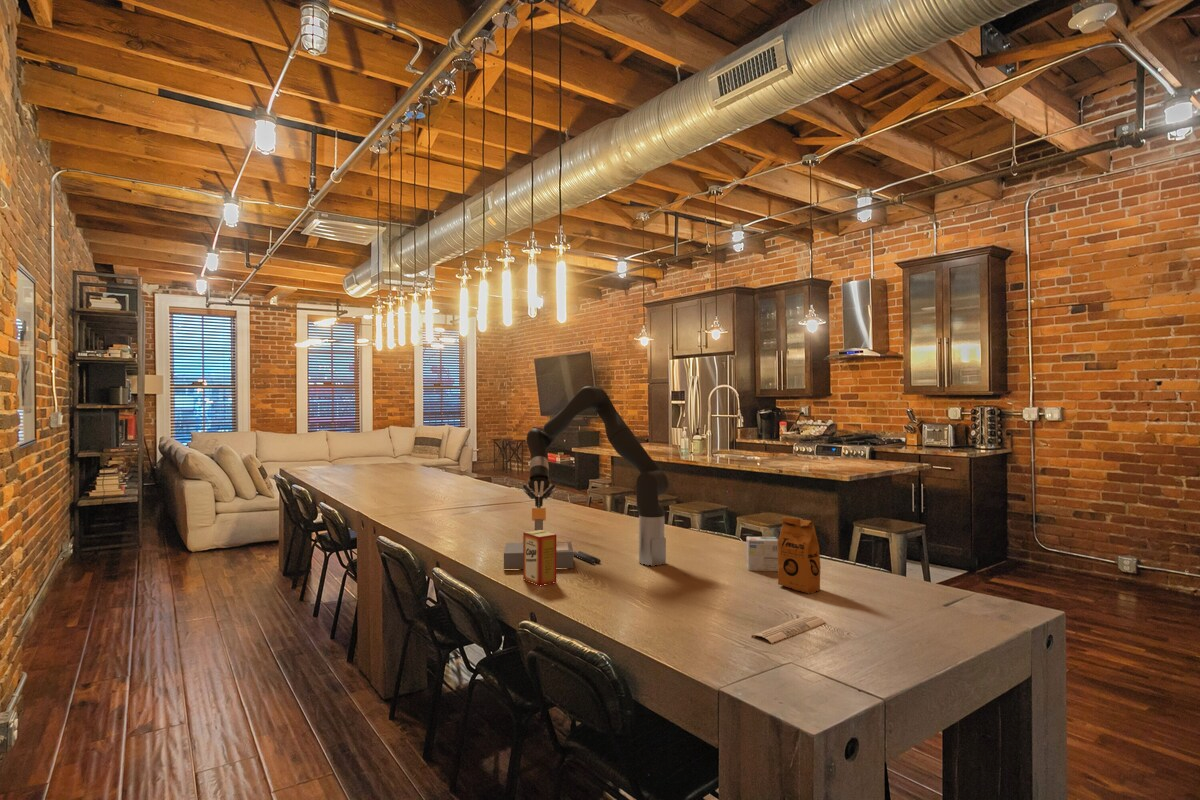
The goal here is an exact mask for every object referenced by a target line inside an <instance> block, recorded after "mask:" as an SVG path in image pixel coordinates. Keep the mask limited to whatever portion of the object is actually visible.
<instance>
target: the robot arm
mask: <svg viewBox="0 0 1200 800" xmlns="http://www.w3.org/2000/svg"><path fill="white" fill-rule="evenodd" d="M616 409H617V408H616V407H615V405H614V404H613V401H611V399H610V397H609V396H608V394H607V392H606V391H605V390H604V389H603V388H601V387H599V386H592V385H586V386H583V387H582V388H580V389H579V390H578V392H576V393H575V395H574V396H573V397H572V398H571V400H569V402H568V403H566V405H565V406H564V407H563V409H561V410H560V411H559V412H557V414H555V415H554V416H553V417H552V418H551V419H549V420H548V421H546V422H545V424H544V426H543V430H544V431H543V430H541V429H539V428H536V427H535V428H531V429H530V430H529V431H528V433H527V435H526V445H527V448H528V451H529V454H530V458H529V459H530V461H529V478H528V479H529V481H528V482H527V484H523V485H522V491H523V492H524V493H525V494H526V496H528V497H529V499H531V500H534V505H535V508H542V507H543V505H544V504H543V503H544V502H543V500H544V499H545V500H547V499H548V498H549V497H550V496H552V494H553V493H554V492H555V491H556V484H551V481H550V478H549V477H550V475H549V473H550V472H549V470H550V468H549V452H548V449H549V448H550V447H551V446H552V444H553V443H554V441H555V440H556V438H557V437H558V436H559V435H560V434H561V435H562V433H563V432H565V431H566V430H567V429H568V428H569V426H570V425H571V424H572V422H573V420H574V419H575V418H576V417H577V416H578V415H579V414H581V413H583V412H585V411H587V410H588V411H594V412H596V414H597V415H598V416H599V418H600V419H601V421H602V422H603V425H604V430H605V434H606V438H607V440H608V441H609V442H608V443H610V445H611V447H612V448H613V449H614V451H615V452H616V453H617V454H618V455H619V456H620V457H621V458H623V459H624V460H626V461H627V462H628V463H630V465H632V466H633V467H635V468H636V469H637V471H638V472H639V473H640V474H638V477H637V478H636V480H635V481H636V483H635V494H636V495H635V496H636V507H637V509H638V563H639V564H640V563H641V564H640V565H643V564H645V565H644V566H649V565H651V566H650V567H655V565H657V566H662V564H663V565H666V564H667V561H666V560H667V542H666V541H667V538H666V537H665V508H664V507H663V506H662V505H660V504H659V496H662V495H664V494H666V493H667V492H668V490H669V487H670V481H669V479H668V477H667V475H666V473H665V472H664V471H663V470H662V468H661V467H660V466H659V465H658V464H657V463H656V462H655V461H654V459H653V458H652V457H651V456H650V455H649V453H648V452H647V450H646V448H644V446H643V445H642V444H641V443H640V442H639V440H638V439H637V437H636V435H635V434H634V432H633V431H632V430H631V428H630V426H628V425H627V423H626V422H625V420H624V419H623V418H622V416H621V415H620V413H619V412H618V411H617V410H616Z"/></svg>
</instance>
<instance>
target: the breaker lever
mask: <svg viewBox="0 0 1200 800" xmlns="http://www.w3.org/2000/svg"><path fill="white" fill-rule="evenodd" d="M546 511H547V508H546V507H541V508H537V507H534V508H531V522H534V531H535V530H544V521H546V519H547V513H546Z"/></svg>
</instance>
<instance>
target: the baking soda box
mask: <svg viewBox="0 0 1200 800" xmlns="http://www.w3.org/2000/svg"><path fill="white" fill-rule="evenodd" d="M522 538H523V542H522V543H523V570H522V571H523V572H522V573H523V576H522V577H523V579H525V580H527V581H530V582H533V583H535V584H537V585H539V586H540V585H544V584H549V583H553V582H556V583H557V569H556V542H557V533H553V532H549V531H547V530H544V529H543V530H535V529H534V530H531V531H530V530H529V531H523V537H522ZM523 579H522V580H523ZM525 580H524V581H525ZM527 581H526V582H527ZM537 585H536V586H537ZM549 585H550V584H549ZM539 586H538V587H539ZM544 586H545V585H544ZM540 587H541V586H540Z"/></svg>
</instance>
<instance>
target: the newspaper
mask: <svg viewBox="0 0 1200 800" xmlns="http://www.w3.org/2000/svg"><path fill="white" fill-rule="evenodd" d="M823 623H825V624H826V623H827V622H826V620H824V619H823V618H821V617H819V616H817V615H806V614H805V616H801V617H799V618H796V619H792V620H790V621H786V622H784V623H782V624H779V625H776V626H773V627H771V628H768V629H765V630H761V631H759V632H757V633H754V634H751V637H750V638H756V636H757V637H760V638H761V637H762V638H764V639H766V640H768V642H769V643H771V644H770V645H773V644H775V643H774V642H776V643H778V642H780V641H779V640H781V641H782V639H783V640H785V639H784V638H786V639H788V638H790V636H791V637H793V636H792V635H794V636H796V635H798V633H799V634H801V633H804V632H806V630H807V631H809V630H812V629H814V628H816V626H817V627H819V625H820V626H822V625H824V624H823ZM821 624H822V625H821ZM811 628H812V629H811ZM803 631H804V632H803ZM795 634H796V635H795ZM752 636H753V637H752ZM787 637H788V638H787ZM777 641H778V642H777ZM772 643H773V644H772Z"/></svg>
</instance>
